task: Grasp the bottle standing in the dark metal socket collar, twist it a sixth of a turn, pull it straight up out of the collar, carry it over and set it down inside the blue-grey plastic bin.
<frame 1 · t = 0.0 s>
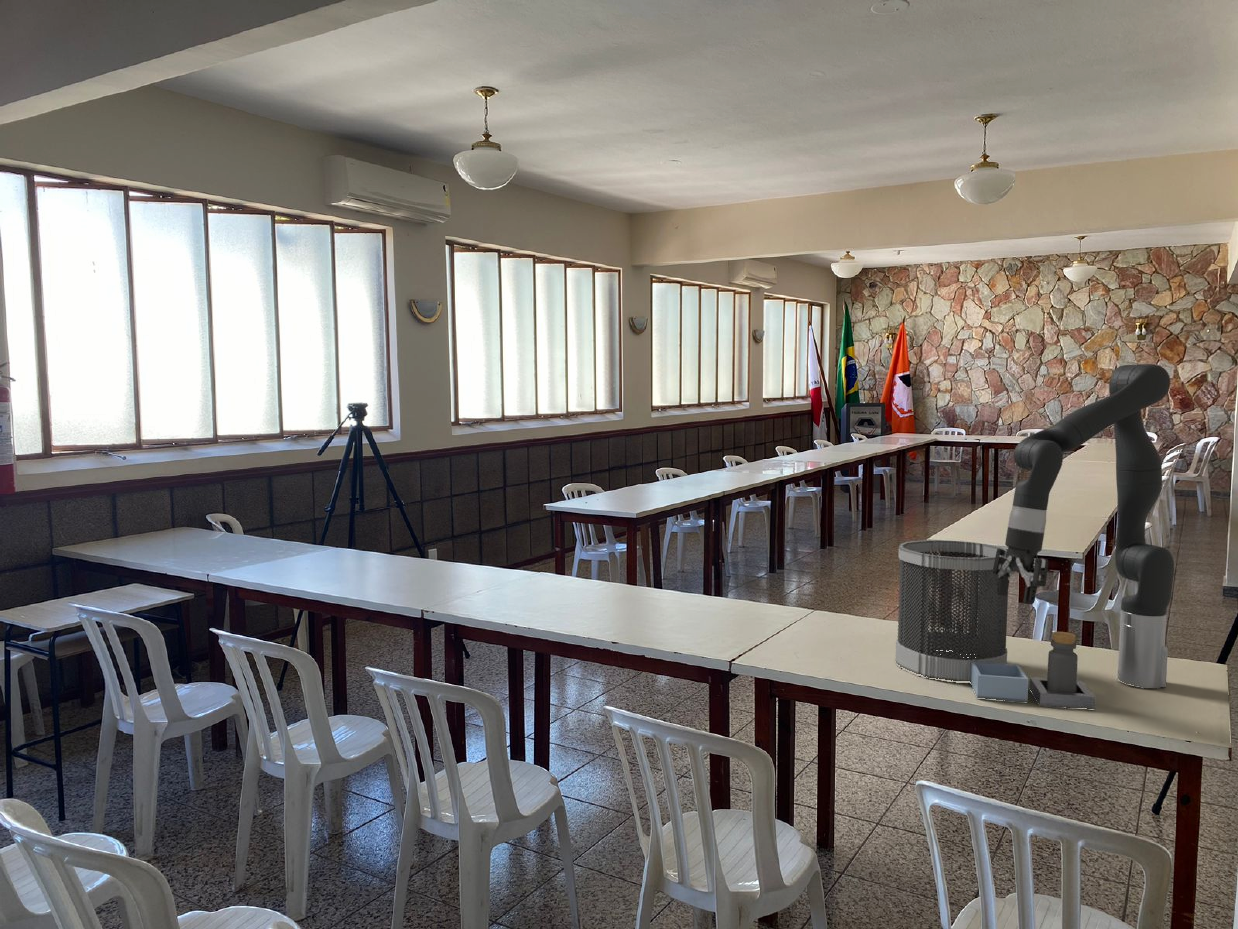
hand: (1014, 599, 197), 22 cm above the table, tool pointing down, fingers open, 8 cm apart
wastebasket: (950, 667, 221), on the table
bottle: (1060, 700, 197), resting in collar
collar: (1061, 700, 197), on the table
bin: (997, 693, 201), on the table
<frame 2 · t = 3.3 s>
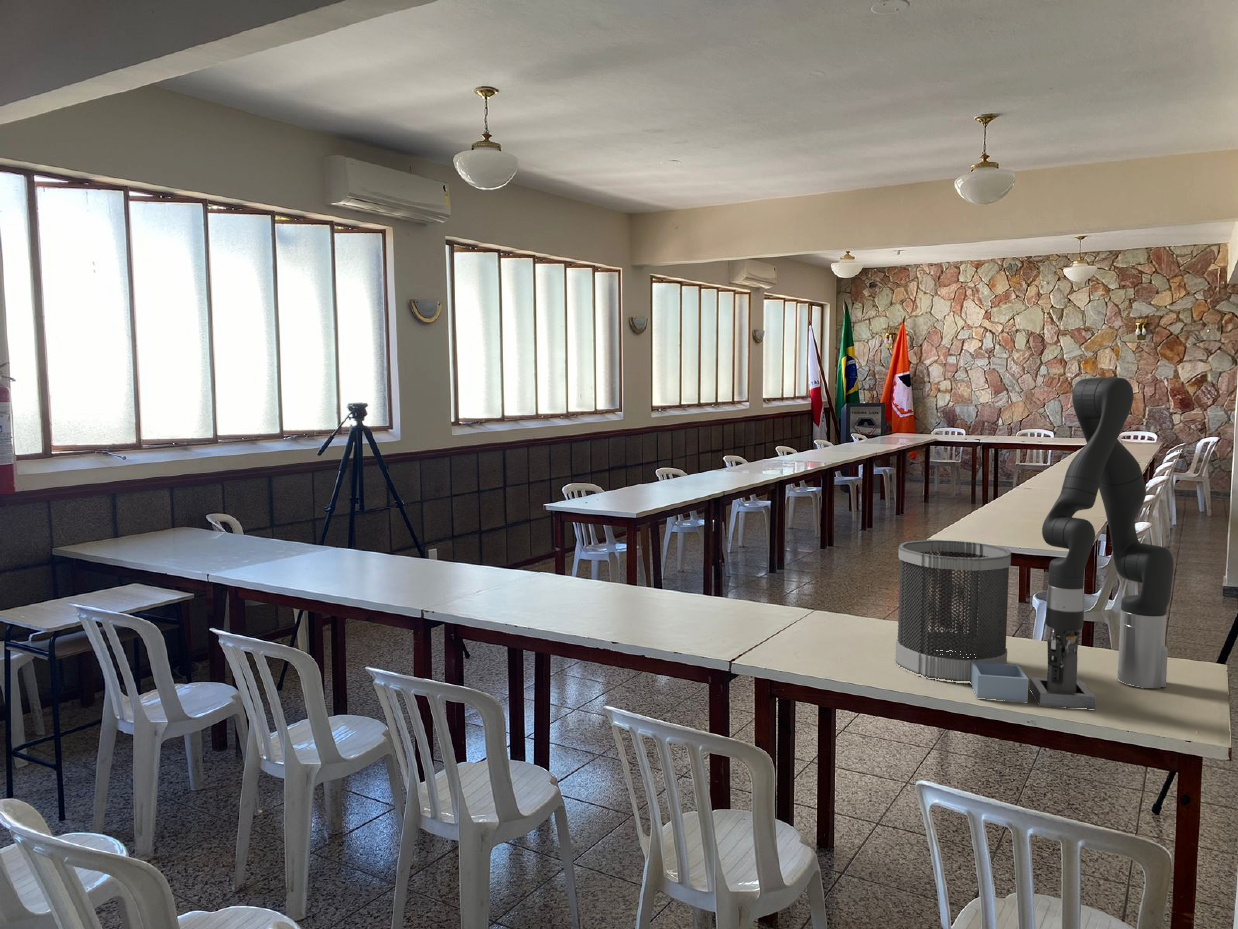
hand: (1061, 679, 197), 5 cm above the table, tool pointing down, fingers closed on bottle, 6 cm apart
bottle: (1060, 700, 197), resting in collar, touching gripper
everything else where it was.
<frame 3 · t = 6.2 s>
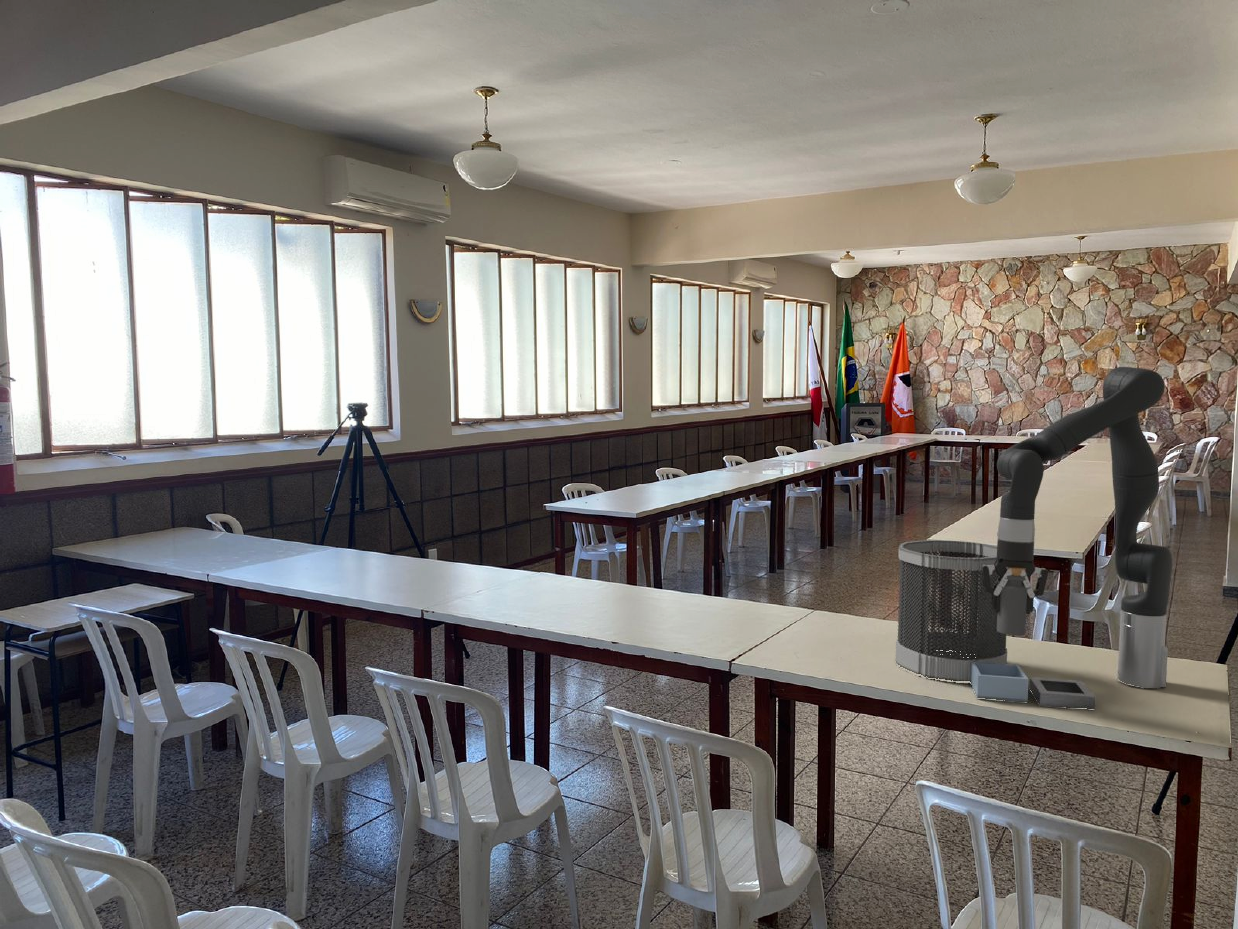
hand: (1011, 612, 198), 19 cm above the table, tool pointing down, fingers closed on bottle, 5 cm apart
bottle: (1010, 633, 198), point 15 cm above the table, touching gripper
everything else where it was.
when the fingers open (7 cm above the table, at t = 9.1 s): bottle drops 1 cm, resting on bin.
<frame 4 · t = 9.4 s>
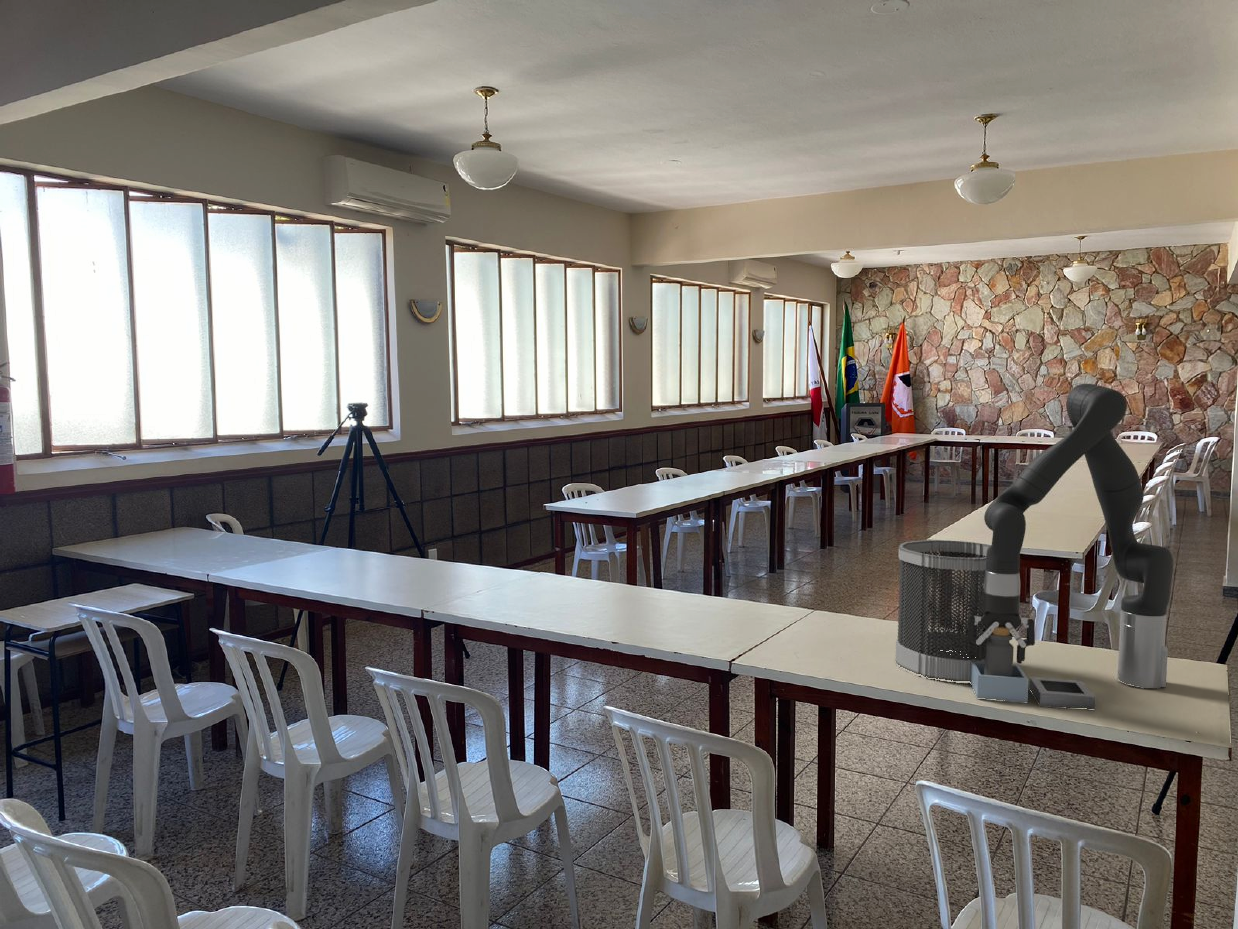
hand: (999, 661, 201), 8 cm above the table, tool pointing down, fingers open, 8 cm apart
bottle: (997, 691, 201), point 1 cm above the table, touching bin
everything else where it was.
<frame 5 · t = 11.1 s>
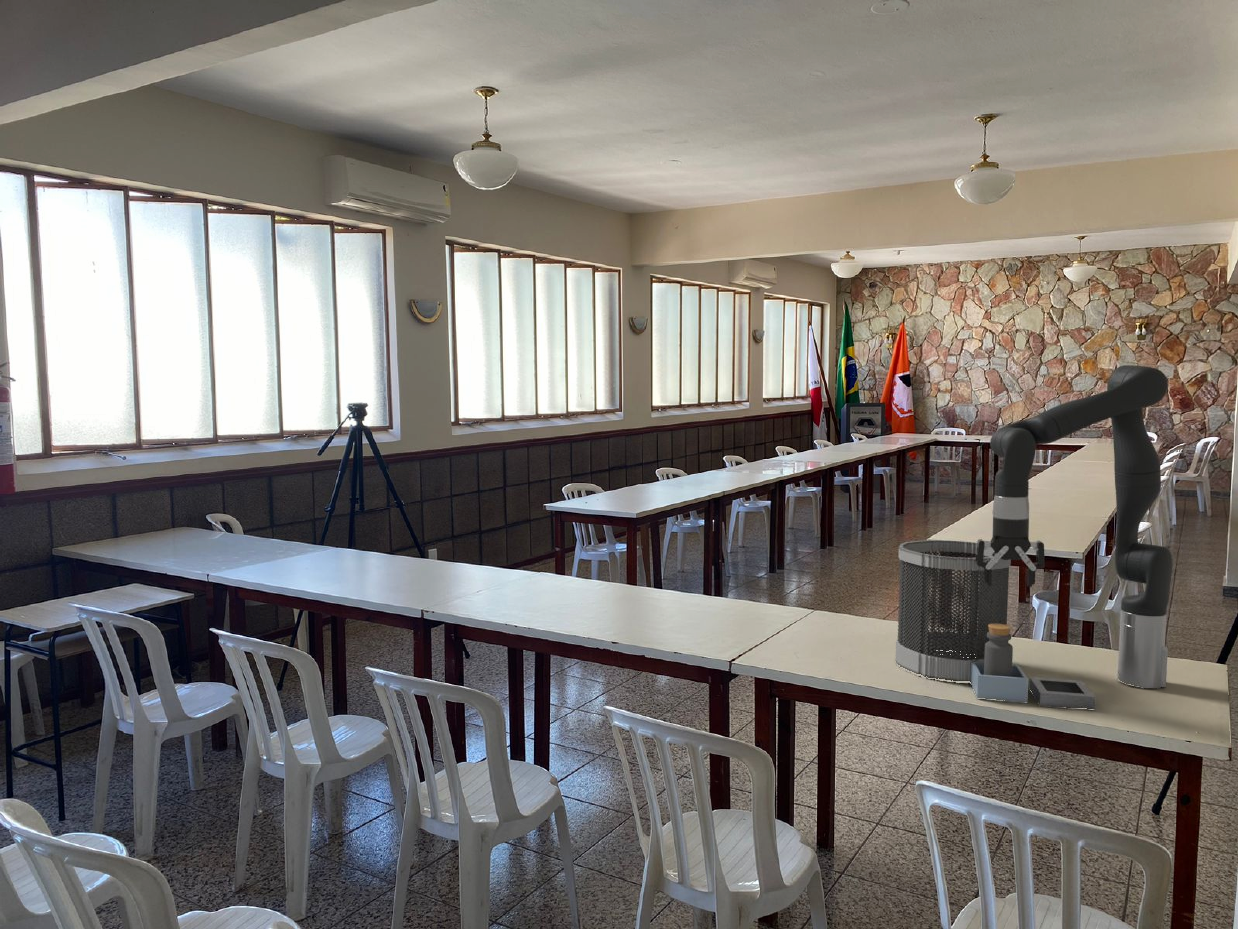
hand: (1009, 585, 201), 25 cm above the table, tool pointing down, fingers open, 8 cm apart
nothing on the table moved.
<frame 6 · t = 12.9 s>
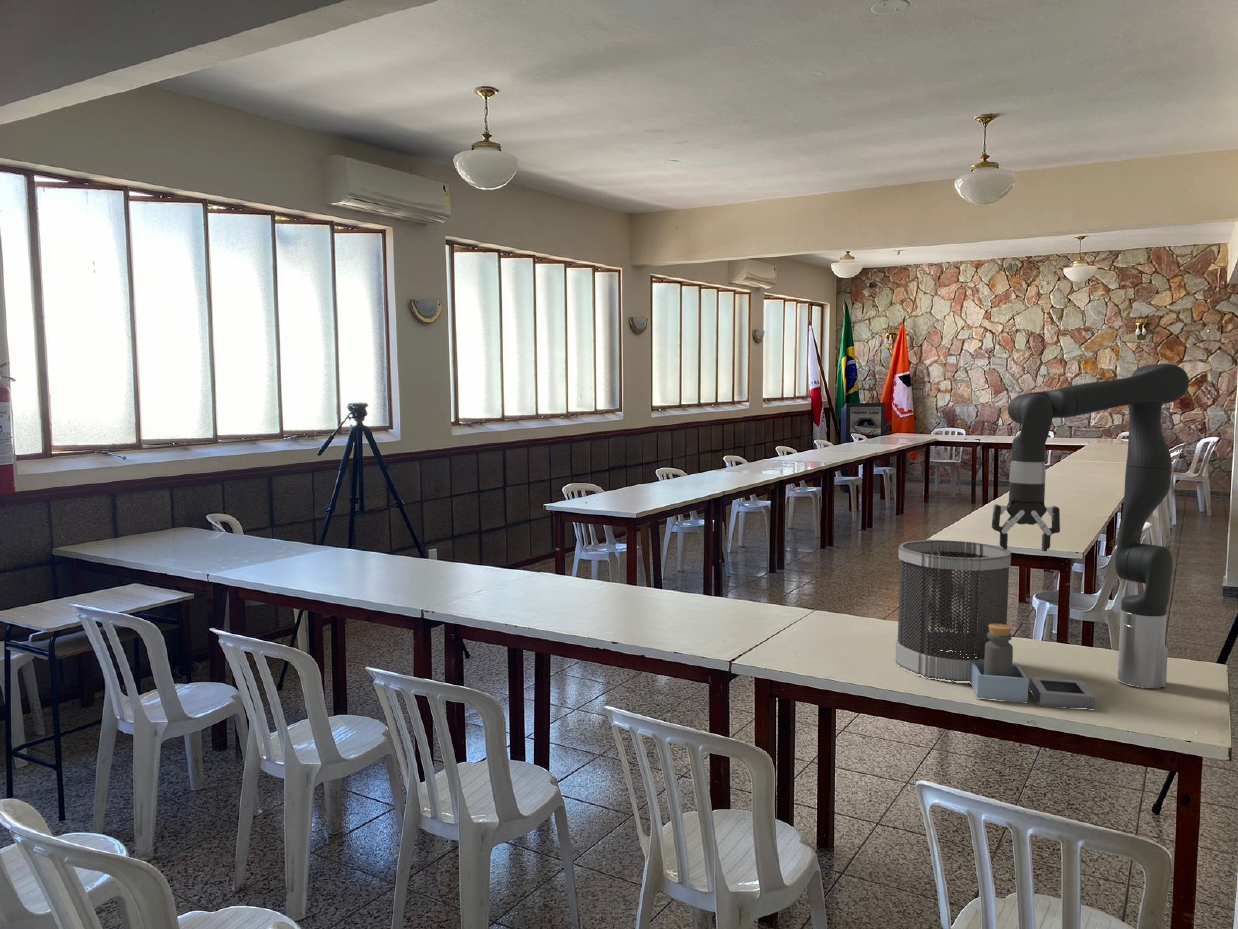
hand: (1024, 550, 205), 32 cm above the table, tool pointing down, fingers open, 8 cm apart
nothing on the table moved.
at the end: bottle inside the target area on the bin (0.3 cm from its centre), point 0.6 cm above the bin's base; bottle tilted 0°; the gripper is holding nothing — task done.
